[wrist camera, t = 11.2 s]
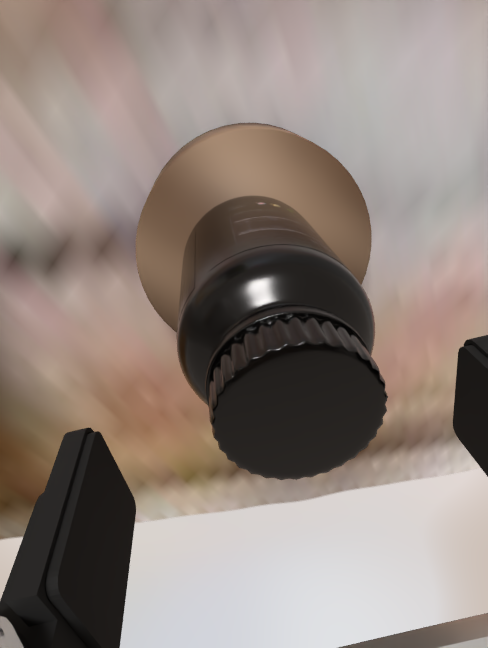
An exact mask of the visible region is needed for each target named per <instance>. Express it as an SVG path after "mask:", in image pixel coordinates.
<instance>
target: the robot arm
mask: <svg viewBox="0 0 488 648" xmlns="http://www.w3.org/2000/svg"><path fill="white" fill-rule="evenodd" d="M453 428H454V431H455V433H456V435H457V437H458V438H459V440H460V441H461V442H462V444H463V445H464V446H465V447H466V449H467V450H468V451H469V453H470V454H471V455H472V457H473V458H474V459H475V461H476V462H477V463H478V464H479V466H480V467H481V468H482V469H483V471H484V472H485V473H486V475H487V476H488V335H486V336H482V337H477V338H473V339H469V340H466V341H465V343H464V347H461V348H460V349H459V352H458V364H457V376H456V389H455V402H454V415H453ZM135 515H136V505H135V500H134V497H133V495H132V493H131V491H130V489H129V487H128V485H127V483H126V481H125V480H124V478H123V476H122V474H121V472H120V470H119V468H118V466H117V464H116V462H115V460H114V458H113V456H112V454H111V452H110V450H109V448H108V446H107V444H106V442H105V441H104V439H103V437H102V435H101V433H100V432H94V431H93V430H92V429H91V428H85V429H81V430H76V431H72V432H68V433H66V434H65V436H64V437H63V440H62V443H61V446H60V449H59V452H58V455H57V457H56V460H55V463H54V466H53V469H52V472H51V474H50V477H49V480H48V483H47V486H46V489H45V492H44V493H42V494H41V495H40V496H39V498H38V500H37V502H36V504H35V507H34V510H33V512H32V515H31V518H30V521H29V523H28V526H27V529H26V532H25V534H24V537H23V540H22V543H21V545H20V548H19V551H18V554H17V556H16V559H15V562H14V565H13V568H12V570H11V573H10V576H9V579H8V581H7V584H6V587H5V590H4V592H3V595H2V598H1V601H0V648H119V647H120V639H121V630H122V622H123V614H124V606H125V597H126V589H127V581H128V573H129V563H130V556H131V548H132V540H133V531H134V523H135ZM339 648H488V613H486V614H481V615H477V616H472V617H468V618H464V619H459V620H455V621H451V622H446V623H442V624H437V625H433V626H429V627H424V628H420V629H416V630H412V631H407V632H403V633H399V634H394V635H390V636H386V637H382V638H377V639H373V640H369V641H364V642H360V643H356V644H352V645H348V646H343V647H339Z"/></svg>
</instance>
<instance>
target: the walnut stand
mask: <svg viewBox="0 0 488 648" xmlns="http://www.w3.org/2000/svg"><path fill="white" fill-rule="evenodd" d="M251 195H252V196H265V197H270V198H273V199H276V200H279V201H281V202H283V203H285V204H287V205H289V206H290V207H292V208H293V209H295V210H296V211H297V212H298V213H299V214H300V215H302V216H303V218H304V219H305V220H306V221H307V222H308V223H309V224H310V225H311V226H312V227H313V229H314V230H315V231H316V232H317V233H318V234H319V236H320V237H321V238H322V239H323V240H324V241H325V242H326V244H327V245H328V246H329V247H330V248H331V249H332V251H333V252H334V253H335V254H336V255H337V256H338V258H339V259H340V260H341V261H342V262H343V263H344V264H345V266H346V267H347V268H348V269H349V270H350V271H351V273H352V274H353V275H354V276H355V277H356V279H357V280H358V282H359V283H360V285H361V284H362V281H363V279H364V276H365V274H366V271H367V267H368V263H369V259H370V251H371V225H370V218H369V213H368V210H367V206H366V203H365V200H364V198H363V196H362V193H361V191H360V189H359V187H358V185H357V184H356V182H355V181H354V179H353V178H352V176H351V174H350V173H349V172H348V171H347V170H346V169H345V168H344V166H343V165H342V164H341V163H340V162H339V161H338V160H337V159H336V158H334V157H333V156H332V155H331V154H330V153H328V152H327V151H326V150H324V149H322V148H321V147H319V146H318V145H316V144H314V143H313V142H311V141H309V140H307V139H305V138H303V137H301V136H299V135H297V134H295V133H292V132H290V131H288V130H285V129H283V128H280V127H276V126H272V125H268V124H259V123H238V124H232V125H227V126H222V127H219V128H216V129H213V130H210V131H208V132H206V133H204V134H202V135H200V136H198V137H196V138H195V139H193V140H192V141H190V142H189V143H187V144H186V145H185V146H183V147H182V148H181V149H180V150H179V151H178V152H177V153H176V154H175V155H174V156H173V157H172V158H171V159H170V160H169V161H168V163H167V164H166V165H165V166H164V168H163V169H162V171H161V173H160V174H159V176H158V178H157V179H156V181H155V183H154V185H153V188H152V190H151V192H150V194H149V196H148V198H147V201H146V203H145V205H144V208H143V210H142V213H141V216H140V220H139V224H138V228H137V236H136V261H137V267H138V273H139V276H140V280H141V283H142V286H143V288H144V291H145V293H146V295H147V297H148V299H149V301H150V302H151V304H152V306H153V307H154V309H155V310H156V312H157V313H158V314H159V315H160V316H161V318H162V319H163V320H164V321H165V322H166V323H167V324H168V325H169V326H170V327H171V328H172V329H173V330H174V331H176V332H177V325H178V313H179V300H180V288H181V275H182V263H183V256H184V250H185V246H186V243H187V240H188V238H189V235H190V234H191V232H192V230H193V228H194V227H195V225H196V224H197V223H198V221H199V220H200V219H201V218H202V217H203V216H204V215H205V214H206V213H207V212H208V211H210V210H211V209H212V208H214V207H215V206H217V205H219V204H221V203H223V202H225V201H227V200H230V199H233V198H237V197H242V196H251Z"/></svg>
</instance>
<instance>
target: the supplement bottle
mask: <svg viewBox="0 0 488 648" xmlns="http://www.w3.org/2000/svg"><path fill="white" fill-rule="evenodd" d="M374 338H375V322H374V315H373V311H372V307H371V304H370V301H369V298H368V296H367V295H366V293H365V291H364V289H363V288H362V286H361V285H360V283H359V282H358V280H357V279H356V277H355V276H354V275H353V274H352V273H351V271H350V270H349V269H348V268H347V267H346V266H345V264H344V263H343V262H342V261H341V260H340V259H339V258H338V256H337V255H336V254H335V253H334V252H333V251H332V249H331V248H330V247H329V246H328V245H327V244H326V242H325V241H324V240H323V239H322V238H321V237H320V236H319V234H318V233H317V232H316V231H315V230H314V229H313V227H312V226H311V225H310V224H309V223H308V222H307V221H306V220H305V219H304V218H303V216H302V215H300V214H299V213H298V212H297V211H296V210H295V209H293V208H292V207H290V206H289V205H287V204H285V203H283V202H281V201H279V200H276V199H273V198H270V197H265V196H252V195H251V196H242V197H237V198H233V199H230V200H227V201H225V202H223V203H221V204H219V205H217V206H215V207H214V208H212V209H211V210H210V211H208V212H207V213H206V214H205V215H204V216H203V217H202V218H201V219H200V220H199V221H198V223H197V224H196V225H195V227H194V228H193V230H192V232H191V234H190V235H189V238H188V240H187V243H186V246H185V250H184V256H183V263H182V275H181V288H180V300H179V313H178V325H177V352H178V358H179V362H180V366H181V369H182V371H183V374H184V376H185V378H186V380H187V382H188V383H189V385H190V386H191V388H192V389H193V391H194V392H195V393H196V394H197V395H198V396H199V398H200V399H201V400H202V401H204V402H205V403H206V404H207V405H208V406H209V413H210V422H211V424H212V432H213V436H214V438H215V439H216V440H217V441H218V445H219V449H220V450H222V451H223V452H224V453H226V455H227V458H228V459H229V460H231V461H233V462H235V463H236V464H237V466H238V467H239V468H242V469H246V470H248V471H249V472H250V473H251V474H258V475H262V476H263V477H265V478H277V479H280V480H283V479H288V478H290V479H296V480H297V479H300V478H303V477H313V476H315V475H317V474H320V473H326V472H329V471H330V470H332V469H333V468H336V467H339V466H342V465H343V464H344V463H345V462H346V461H348V460H350V459H353V458H355V457H356V455H357V454H358V453H359V452H360V451H361V450H363V449H365V448H366V447H367V446H368V444H369V442H370V441H371V440H372V439H373V438H374V437H376V434H377V430H378V429H379V428H380V426H381V425H382V424H383V419H382V418H383V416H384V414H385V413H386V411H387V409H386V405H385V403H386V401H387V398H388V396H387V393H386V391H385V381H384V379H383V377H382V375H381V374H380V372H379V368H378V366H377V365H376V363H375V361H374V360H373V358H372V357H371V354H372V350H373V346H374Z"/></svg>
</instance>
